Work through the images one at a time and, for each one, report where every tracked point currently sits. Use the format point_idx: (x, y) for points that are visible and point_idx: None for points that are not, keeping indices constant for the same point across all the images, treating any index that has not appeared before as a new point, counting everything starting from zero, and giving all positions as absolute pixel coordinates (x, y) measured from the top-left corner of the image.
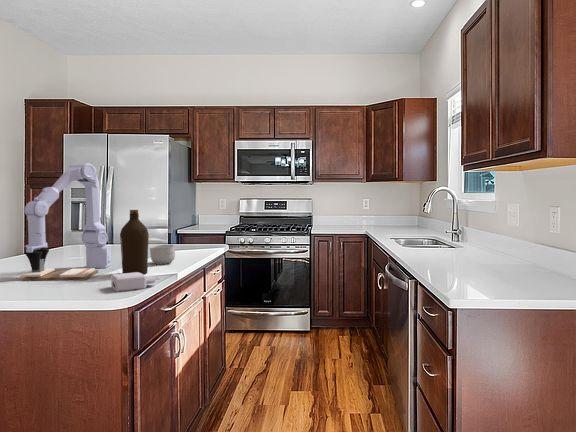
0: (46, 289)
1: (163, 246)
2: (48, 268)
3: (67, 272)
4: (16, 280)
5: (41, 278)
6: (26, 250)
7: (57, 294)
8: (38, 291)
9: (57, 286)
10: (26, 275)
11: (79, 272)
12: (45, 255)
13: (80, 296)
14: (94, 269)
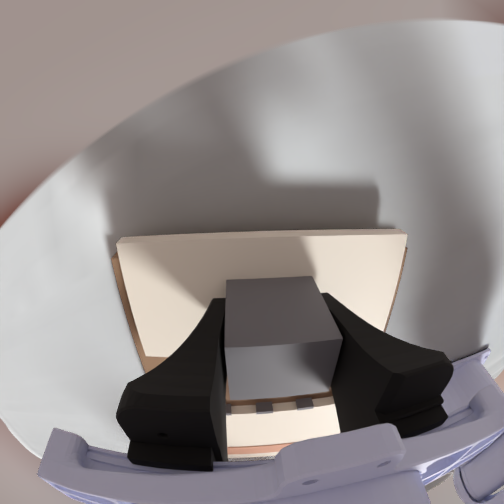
0: (25, 382)
1: (446, 475)
2: (380, 315)
3: (237, 422)
4: (131, 200)
5: (138, 348)
6: (47, 444)
7: (9, 402)
8: (2, 368)
9: (64, 402)
10: (127, 281)
11: (228, 448)
12: (339, 417)
13: (22, 428)
14: None
